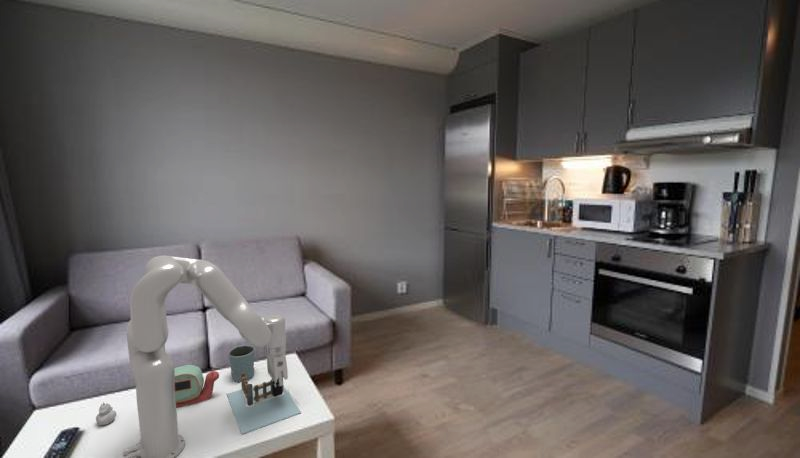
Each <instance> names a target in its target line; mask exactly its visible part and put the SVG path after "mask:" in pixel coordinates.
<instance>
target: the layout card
mask: <svg viewBox="0 0 800 458" xmlns="http://www.w3.org/2000/svg"><path fill="white" fill-rule="evenodd" d="M265 382H266V383H267V382H270V380H268V381H265ZM262 384H263V382H261V383H259V384H257V385H258V386H259V385H262ZM254 387H255V385H252V389H253V388H254ZM283 388H284V391H283V392H282V395H279V396H276V397H274V396H273V395H269V396H267V398H265V399H264V398H261V399H259V401H257V402H256V401H255V400H254V397H255V391H254V390H253V405H251V406H248V405H247V398H246V397H245V394H244V391H242V388H241V389H238V390H236V391H232V392H229V393H226V396H227V398H228V402H229V404H230V407H231V409H232V412H233V416H234V418H235V420H236V423H237V425H238V426H237V427H238V428H239V431H240V434H241V435H246V434H248V433H252V432H253V431H256V430H259V429H262V428H264V427H268V426H270V425H273V424H275V423H278V422H282V421H283V420H287V419H290V418H291V417H295V416H297V415H299V414H302V411H301V410H300V408H299V407H298V405H297V404H296V402H295V401H294V399H293V398H292V396H291V394H290V393H289V392H288V390H287V388H286V387H285V385H284V384H283ZM266 390H267V392H269V391H271V385H270V386H267V387H266ZM258 392H259V395H261V394H263V388H262V389H259V390H258Z"/></svg>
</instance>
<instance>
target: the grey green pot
mask: <svg viewBox="0 0 800 458" xmlns="http://www.w3.org/2000/svg"><path fill="white" fill-rule="evenodd" d="M255 349H256V348H255V347H253V346H251V345H250V344H243V345H239V346H238V345H237V346H235V347H233V348H231V349H230V350H229V351H228V358H229V364H230V371H231V379H232V381H233V382H235V383H242V382H241V373H242V372H244V373H245V377H246V380H247V381H248V382H249V381H250V380H251V379H253V377H254V376H255V353H256V352H255Z"/></svg>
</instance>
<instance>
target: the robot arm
mask: <svg viewBox="0 0 800 458" xmlns="http://www.w3.org/2000/svg"><path fill="white" fill-rule="evenodd" d="M144 271H145V275H143V276H142V277H141V278H140V279H139V280H138V281H137V283H136V284H135V285H134V287H133V289H132V290H131V292H130V293H131V294H130V297H129V308H130V319H129V321H128V323H127V326H126V339H127V349H128V358H129V359H128V360H129V365H130V368H131V370H132V375H133V378H134V383H135V391H136V395H135V396H136V406H137V415H138V425H139V435H140V439H139V443H137V444H135V445H133V446H129V447H127V448H124V449H122V456H123V457H127V458H176V457H177V456H179V454H180V453H181V452H182V451H183V450H184V449H185V446H186V440H185V437H184V436H183V435H180V434H179V426H178V425H179V424H178V413H177V411H178V410H177V407H176V399H175V387H174V381H175V370H174V369H175V366H174V363H173V360H172V359H171V358H170V356H169V355H168V354H169V353H167V351H166V342H167V341H168V339H169V328H168V321H167V320H168V319H167V311H166V310H167V309H166V306H167V305H166V302H167V301H166V300H167V298H168V295H169V294H170V293H171V291H173V289H174V288H176V287H177V286H179V285H180V284H186V285H194V286H195V287H196V288H197V290H198V291H199V292H200V293H201V294H202V295H203V297H205V298H206V300H207V301H208V302H209V303H210V304H211V306H213V308H214V309H215V310H216V311H217V312H218V313H219V314H220V315H221V316H222V317H223V319H225V320H226V321H228V322H229V323H230V324H231V325H233V326H234V328H236V329H237V331H238V334H239V335H240V337H241V338H242V339H243V340H245V341H246V342H247V343H248V345H251V346H253V347H254V348H255V349H256V348H257V349H262V348H264V355H265V356H266V367H267V373H268V375H269V376H270V379H271V380H272V384H274V385H272V393H273V396H274V397H276V396H279V395H282V385H284V380H288V378H289V375H288V364H287V357H286V353H287V337H286V318H285V317H284V315H282V314H279V313H278V314H276V313H275V314H274V313H273V314H270V315H267V316H263V317H260V315H259V314H258V313H257V312H256V310H254V309H253V307H252V306H251V305H250V304H249V303H248V301H247V299H245V298H244V296H243V295H241V293H240V292H239V291H238V289H237V288H235V286H234V284H232V282H231V281H230V280H229V278H228V277H227V276H226V275H225V273H224V272H223V271H222V270H221V269H220V268H219V267H218V266H217V265H216V264H213V263H212V262H210V261H207V260H204V259H197V258H188V257H181V256H172V255H165V254H164V255H157V256H154V257H152V258H151V259H149V261H147V263H146V265H145V268H144ZM282 376H283V380H282Z"/></svg>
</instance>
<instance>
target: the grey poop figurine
mask: <svg viewBox="0 0 800 458" xmlns="http://www.w3.org/2000/svg"><path fill="white" fill-rule="evenodd" d="M116 417H117V411H116V410H114V409H113V407H112V406H111V404H109V403H105V402H103V403H101V404H100V406H99V408H98V414H97V415H96V416H95V421H96V423H97V424H98V425H99V426H100V425H101V426H103V425H108V424H110V423H111V422H112V421H114V420H115V418H116Z"/></svg>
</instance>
